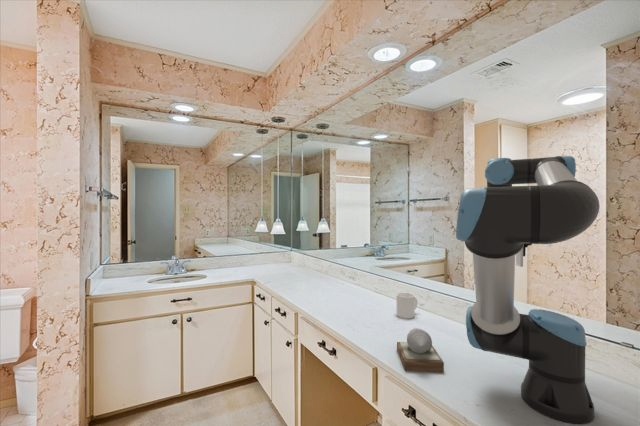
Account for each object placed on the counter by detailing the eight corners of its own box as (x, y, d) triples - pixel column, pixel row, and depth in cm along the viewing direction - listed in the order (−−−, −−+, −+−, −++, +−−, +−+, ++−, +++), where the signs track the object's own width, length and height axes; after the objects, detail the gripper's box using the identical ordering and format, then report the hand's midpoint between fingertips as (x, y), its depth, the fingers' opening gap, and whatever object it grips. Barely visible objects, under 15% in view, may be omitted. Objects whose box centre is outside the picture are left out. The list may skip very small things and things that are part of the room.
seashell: (414, 368, 104) (416, 349, 94) (396, 339, 113) (396, 319, 103) (435, 357, 106) (439, 337, 96) (416, 329, 114) (417, 308, 104)
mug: (410, 310, 152) (410, 290, 152) (423, 315, 145) (423, 294, 145) (392, 314, 146) (392, 293, 146) (405, 320, 139) (405, 298, 139)
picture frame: (443, 372, 95) (443, 361, 95) (404, 370, 96) (404, 360, 96) (430, 351, 109) (430, 342, 109) (396, 350, 110) (396, 341, 110)
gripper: (530, 204, 107) (530, 264, 107) (457, 204, 108) (457, 263, 109) (544, 203, 99) (544, 268, 99) (466, 204, 101) (465, 267, 101)
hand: (498, 265), depth 104 cm, fingers open, 13 cm apart
